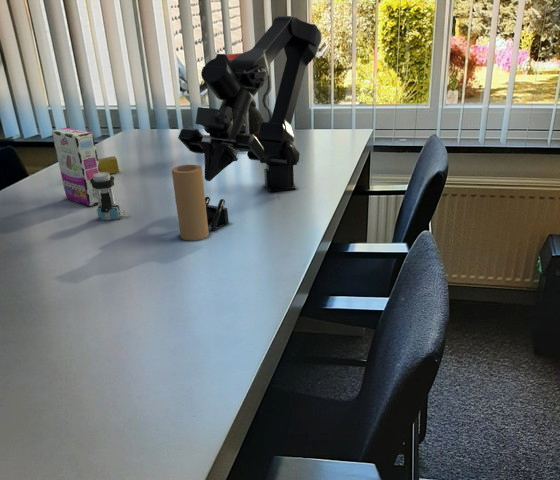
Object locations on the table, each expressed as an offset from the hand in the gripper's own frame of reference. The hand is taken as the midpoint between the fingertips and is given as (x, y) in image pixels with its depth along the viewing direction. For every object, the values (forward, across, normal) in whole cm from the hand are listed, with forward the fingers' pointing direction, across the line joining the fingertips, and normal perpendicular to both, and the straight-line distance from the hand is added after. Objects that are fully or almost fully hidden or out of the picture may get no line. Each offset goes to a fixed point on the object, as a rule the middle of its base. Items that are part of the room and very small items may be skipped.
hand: (207, 180), depth 130 cm
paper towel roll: (+7, 0, +5) cm, 8 cm away
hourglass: (-38, -32, +53) cm, 72 cm away
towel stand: (+7, 0, +7) cm, 10 cm away
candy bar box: (+6, -40, +8) cm, 41 cm away
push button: (+11, -24, +3) cm, 27 cm away
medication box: (-6, -53, +20) cm, 57 cm away
